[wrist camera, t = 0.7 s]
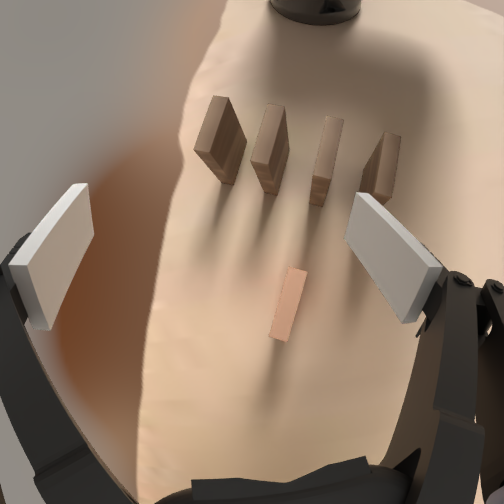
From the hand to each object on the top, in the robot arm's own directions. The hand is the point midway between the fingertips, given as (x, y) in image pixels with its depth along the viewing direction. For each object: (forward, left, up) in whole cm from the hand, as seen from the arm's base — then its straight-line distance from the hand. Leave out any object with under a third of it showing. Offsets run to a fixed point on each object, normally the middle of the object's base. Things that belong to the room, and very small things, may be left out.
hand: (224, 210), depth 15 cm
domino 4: (-10, +1, -23) cm, 25 cm away
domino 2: (-9, -4, -23) cm, 25 cm away
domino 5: (-12, +7, -23) cm, 26 cm away
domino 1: (-7, -9, -23) cm, 26 cm away
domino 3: (+3, +5, -23) cm, 24 cm away
